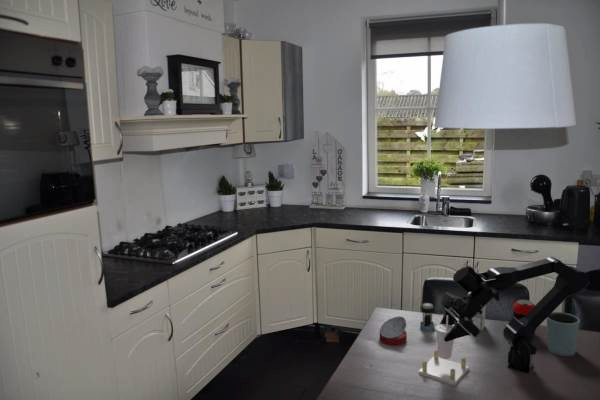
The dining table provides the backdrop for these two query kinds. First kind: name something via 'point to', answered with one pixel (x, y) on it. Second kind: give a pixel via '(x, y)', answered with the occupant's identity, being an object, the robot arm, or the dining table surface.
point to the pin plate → (444, 369)
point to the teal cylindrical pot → (562, 333)
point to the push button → (427, 317)
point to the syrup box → (479, 318)
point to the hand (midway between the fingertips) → (441, 336)
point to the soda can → (522, 308)
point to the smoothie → (444, 346)
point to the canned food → (394, 332)
